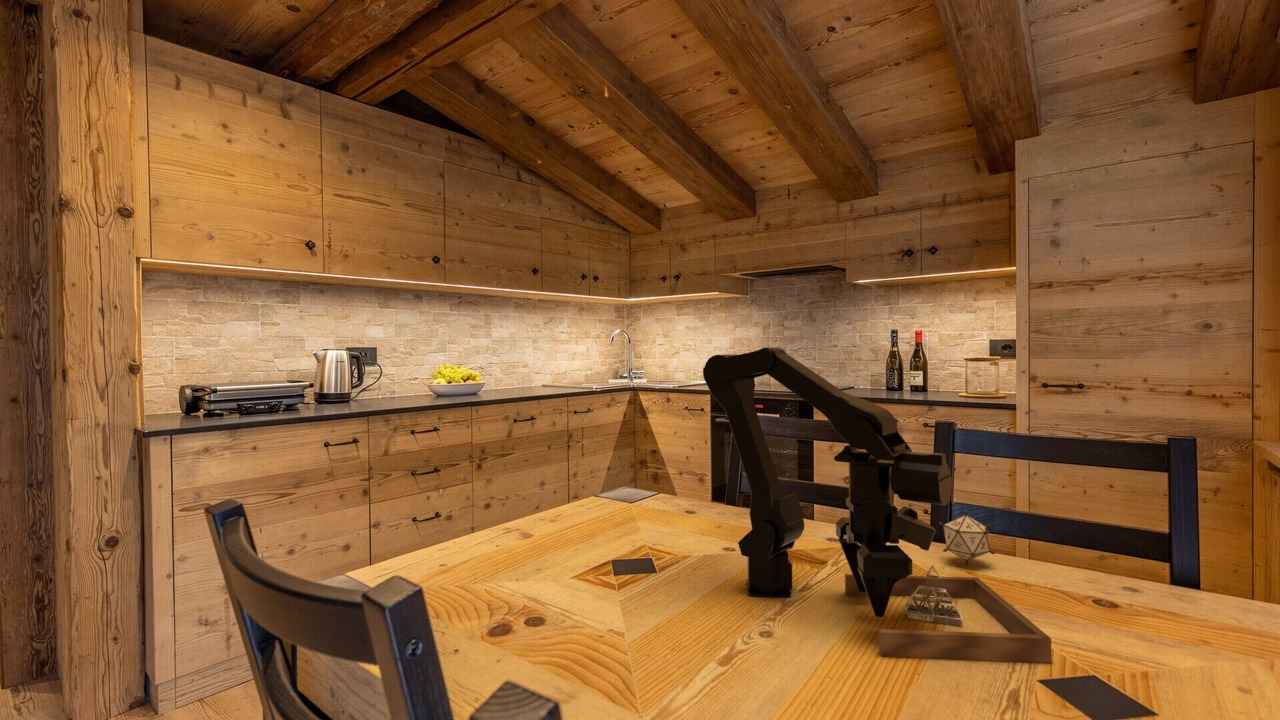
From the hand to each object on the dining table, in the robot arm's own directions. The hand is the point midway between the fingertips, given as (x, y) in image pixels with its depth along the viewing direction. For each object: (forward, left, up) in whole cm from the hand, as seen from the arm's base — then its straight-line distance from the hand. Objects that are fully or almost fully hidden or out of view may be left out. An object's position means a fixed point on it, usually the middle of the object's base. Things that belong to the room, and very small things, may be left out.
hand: (870, 603), depth 90 cm
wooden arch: (+8, -1, -2) cm, 9 cm away
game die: (+22, +24, -2) cm, 33 cm away
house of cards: (+10, +3, -3) cm, 11 cm away
